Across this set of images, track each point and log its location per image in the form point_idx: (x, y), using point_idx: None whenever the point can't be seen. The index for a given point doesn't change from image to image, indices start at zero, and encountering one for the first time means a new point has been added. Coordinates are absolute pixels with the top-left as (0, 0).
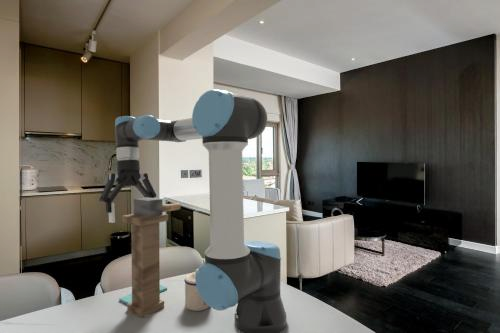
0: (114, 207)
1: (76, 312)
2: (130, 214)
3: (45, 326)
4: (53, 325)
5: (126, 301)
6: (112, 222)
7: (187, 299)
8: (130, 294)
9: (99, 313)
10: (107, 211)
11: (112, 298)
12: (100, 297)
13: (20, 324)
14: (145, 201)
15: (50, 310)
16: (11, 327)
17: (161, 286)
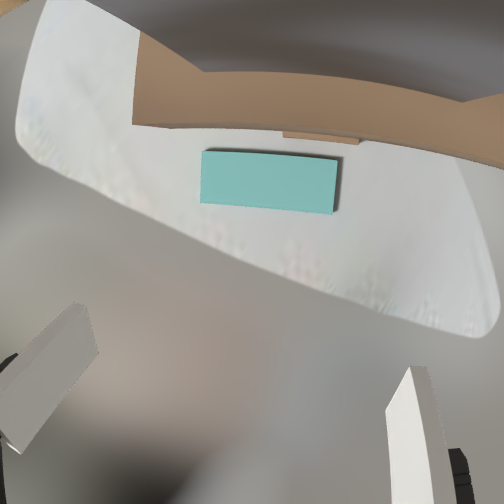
0: (431, 483)
1: (423, 254)
2: (489, 145)
3: (481, 252)
4: (475, 241)
5: (334, 178)
6: (424, 372)
7: None
8: (297, 208)
9: (403, 197)
10: (459, 465)
11: (331, 244)
12: (343, 278)
13: (488, 303)
14: None
15: (436, 314)
16: (498, 305)
17: (205, 172)
